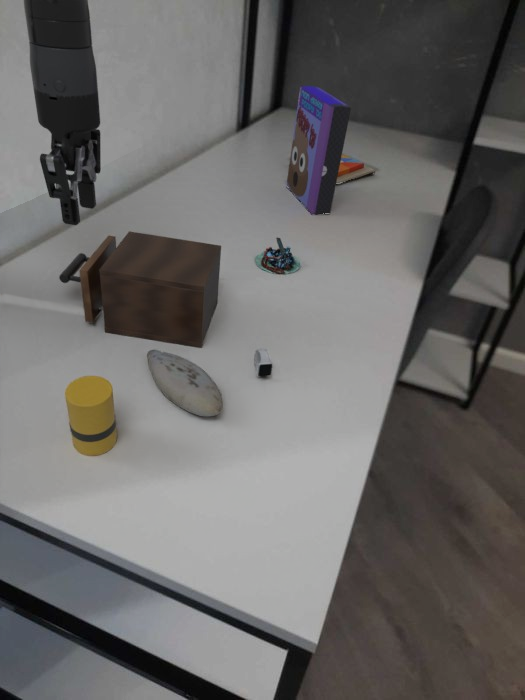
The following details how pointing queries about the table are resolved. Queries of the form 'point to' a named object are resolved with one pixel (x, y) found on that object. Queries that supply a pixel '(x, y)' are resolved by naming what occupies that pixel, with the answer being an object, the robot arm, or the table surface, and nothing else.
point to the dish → (278, 260)
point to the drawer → (90, 276)
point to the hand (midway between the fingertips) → (80, 214)
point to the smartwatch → (263, 362)
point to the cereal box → (317, 148)
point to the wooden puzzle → (351, 169)
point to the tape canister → (91, 415)
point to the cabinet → (160, 288)
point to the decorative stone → (185, 383)
